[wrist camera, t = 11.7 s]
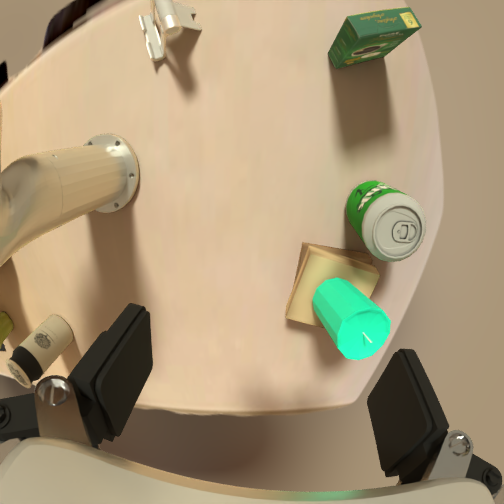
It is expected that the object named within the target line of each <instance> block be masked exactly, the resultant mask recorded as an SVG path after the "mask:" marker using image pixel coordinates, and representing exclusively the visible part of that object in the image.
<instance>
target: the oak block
mask: <svg viewBox="0 0 504 504" xmlns="http://www.w3.org/2000/svg"><path fill="white" fill-rule="evenodd" d="M337 277H338V278H341V279H344V280H347V281H349V282H350V283H351V284H352V285H353V286H355V287H356V288H357V289H358V290H359V291H361V292H362V293H363V294H364V295H365V296H366V297H368V298H370V296H371V294H372V292H373V290H374V288H375V286H376V284H377V282H378V279H379V277H380V274H379V272H378V271H377V269H376V267H375V266H373V265H370V264H367V263H364V262H361V261H357V260H354V259H351V258H348V257H345V256H342V255H338V254H335V253H332V252H329V251H326V250H322V249H319V248H316V247H313V246H309V247H308V250H307V252H306V255H305V258H304V260H303V263H302V266H301V269H300V271H299V274H298V277H297V279H296V282H295V284H294V287H293V290H292V292H291V295H290V297H289V300H288V303H287V305H286V318H288V319H291V320H295V321H299V322H303V323H307V324H310V325H314V326H318V327H322V328H325V327H324V325H323V324H322V322H321V321H320V319H319V317H318V316H317V314H316V313H315V311H314V307H313V301H312V299H313V296H314V294H315V291H316V289H317V287H319V286H320V285H321V284H322V283H323V282H324V281H325V280H328V279H332V278H337Z"/></svg>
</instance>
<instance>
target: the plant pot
mask: <svg viewBox="0 0 504 504" xmlns="http://www.w3.org/2000/svg"><path fill="white" fill-rule="evenodd" d="M12 330H13V323H12V320H11V319H10V318H9V317H8V315H7V314H6V313H5V312H1V313H0V349H1V345H2V344H3V341H4V340H5V339H6V337H7V336H8V335H9V333H10V332H11V331H12Z"/></svg>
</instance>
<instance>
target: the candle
mask: <svg viewBox="0 0 504 504" xmlns="http://www.w3.org/2000/svg"><path fill="white" fill-rule="evenodd" d="M312 301H313V307H314V311H315V313H316V314H317V316H318V317H319V319H320V321H321V322H322V324H323V325H324V327H325V329H326V330H327V332H328V333H329V335H330V337H331V338H332V340H333V341H334V343H335V345H336V346H337V348H338V349H339V350H340V351H341V352H342V354H343V355H344V356H345V357H346V358H348V359H355V360H361V359H364V358H366V357H369V356H372V355H373V354H374V353H375V352H376V351H377V350H378V349H379V348H380V347H381V346H382V345H383V344H384V342H385V340H386V339H387V337H388V335H389V333H390V324H391V321H390V319H389V318H388V317H387V315H386V314H385V313H384V311H383V310H382V309H381V308H379V307H378V306H377V305H376V304H375V303H374V302H372V301H371V300H370V299H369V298H368V297H366V296H365V295H364V294H363V293H362V292H361V291H359V290H358V289H357V288H356V287H355V286H353V285H352V284H351V283H350V282H349V281H347V280H344V279H341V278H338V277H337V278H332V279H328V280H325V281H324V282H323V283H322V284H321V285H320V286H319V287H317V289H316V291H315V294H314V296H313V299H312Z"/></svg>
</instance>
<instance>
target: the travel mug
mask: <svg viewBox="0 0 504 504" xmlns="http://www.w3.org/2000/svg"><path fill="white" fill-rule="evenodd" d="M72 340H73V333H72V331H71V329H70V327H69V325H68V324H67V323H66V322H65V321H64V320H63V319H62V318H61V317H59V316H57V315H51V316H49V317H48V318H47V319H46V320H45V321H44V322H43V323H42V324H41V325H40V326H39V327H38V328H36V329H35V330H34V331H33V332H32V333H31V334H30V335H29V336H28V337H27V338H26V339H25V340H24V341H23V342H22V343H21V344H20V345H19V346H18V347H17V348H16V349H15V350H14V351H13V355H12V357H11V358H10V359H7V360H6V365H7V368H8V370H9V371H10V373H11V374H12V375H13V377H14V378H15V379H16V380H17V381H18V382H19V383H20V384H21V385H23V386H24V387H26V388H30V387H31V384H32V382H33V381H35V380H38V379H39V378H40V377H41V376H42V375H43V374H44V372H45V371H46V370H47V369H48V368H49V367H50V365H51V364H52V363H53V362H54V361H55V360H56V359H57V357H58V356H59V355H60V354H61V353H62V352H63V351H64V350H65V348H66V347H67V346H68V345H69V344H70V343H71V342H72Z"/></svg>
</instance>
